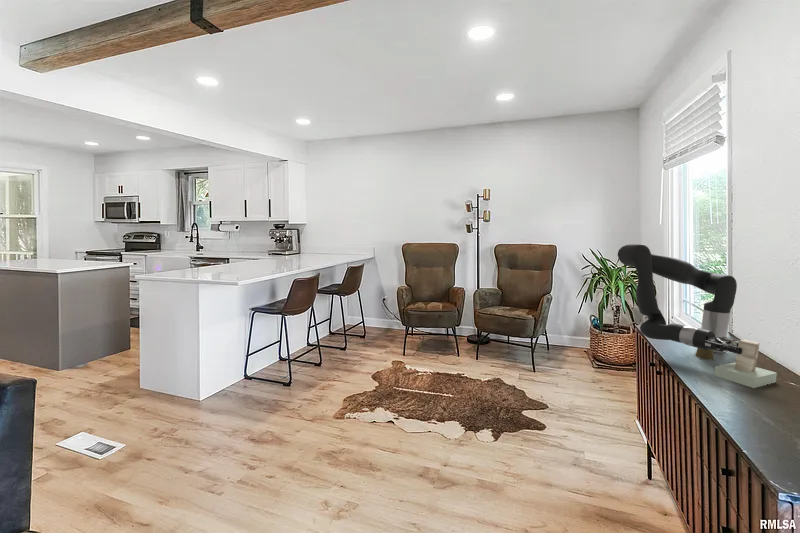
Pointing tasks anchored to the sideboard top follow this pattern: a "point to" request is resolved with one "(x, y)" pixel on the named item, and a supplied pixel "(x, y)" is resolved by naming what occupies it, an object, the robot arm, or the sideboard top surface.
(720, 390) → the sideboard top surface
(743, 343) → the maple block
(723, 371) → the sage block
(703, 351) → the brown rounded piece
